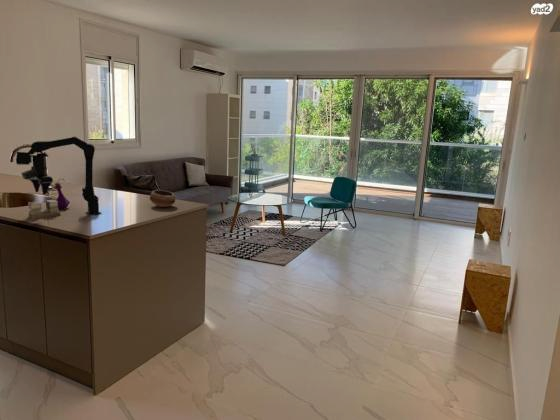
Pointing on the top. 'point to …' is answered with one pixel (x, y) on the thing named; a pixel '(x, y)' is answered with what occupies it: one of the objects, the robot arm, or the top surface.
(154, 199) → the bowl
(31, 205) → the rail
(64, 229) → the top surface
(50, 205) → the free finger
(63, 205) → the perfume bottle
